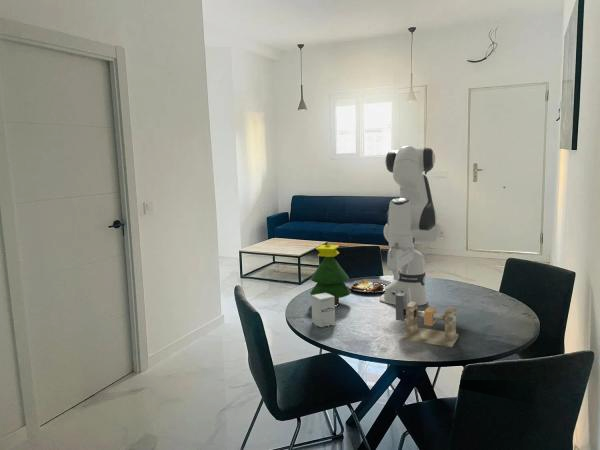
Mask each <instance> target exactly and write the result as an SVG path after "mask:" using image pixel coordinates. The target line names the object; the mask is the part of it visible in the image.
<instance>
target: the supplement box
mask: <svg viewBox="0 0 600 450" xmlns="http://www.w3.org/2000/svg"><path fill="white" fill-rule="evenodd" d="M310 295H311V294H310ZM310 299H311V300H310V301H311V323H312V322H313V323H314V324H316V325H318V326H319V327H324V326H328V325H332V326H334V325H333V324H335V325H336V313H335V312H336V309H335V308H336V307H335V300H334V296H332V295H330V294H328V293H321V294H316V295H311V296H310ZM314 324H313V325H314ZM316 325H315V326H316ZM319 327H318V328H319ZM328 327H329V326H328ZM324 328H325V327H324Z"/></svg>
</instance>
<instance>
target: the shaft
mask: <svg viewBox="0 0 600 450" xmlns="http://www.w3.org/2000/svg"><path fill="white" fill-rule="evenodd" d="M406 306H407V293H401V292H399V293H398V294H396V305H395V321H401V322H404V321H405V320H406ZM424 311H425V310H418V311H417V310H414V316H415V317H418V318H423V319H424ZM433 319H435V320H436V321H444V322H445V313H439V312H436V313H434V314H433ZM453 322H456V323H457V315H456V316H453Z"/></svg>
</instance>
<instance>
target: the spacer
mask: <svg viewBox="0 0 600 450" xmlns="http://www.w3.org/2000/svg"><path fill="white" fill-rule="evenodd" d="M423 311H424V318H423V325H424V326H430V327H433V326H434V324H435V323H436V322H437V320H435V319H433V314H434V313H437V307H432V306H427V307H426V309H424V310H423Z"/></svg>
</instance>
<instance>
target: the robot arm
mask: <svg viewBox="0 0 600 450" xmlns="http://www.w3.org/2000/svg"><path fill="white" fill-rule="evenodd" d="M384 162H385V167H386V170H388V172H389V173H391V174H392V177H393V180H394V181H395V183H396V184H397V185H398V186H399V197H396V198H393V199H391V200H390V201H389V206H388V207H389V208H388V210H387V212H386V224H385V225H384V227H383V237H384V239H385V240H386V242H388V246H389V247H390V249H388V251H387V258H386V259H387V260H386V261H387V262H386V269H387V270H389V271H391V272H392V274H393V281H391V282H392V283H390V284H389V285H388V286H387V287H386V286H385V288H384V289H385V292H383V294H381V295H380V297H379V302H380V301H381V302H380V303H386V304H390V305H394V306H396V294H398V293H399V292H401V293H407V305H408V304H409V303H410V302H418V306H419V307H420V306H423V305H426V304H428V303H429V299H428V296H427V291H426V290H427V289H426V282H427V281H426V280H427V279H426V277H427V276H426V272H425V257H424V255H423V253H421V252H420V251H419V250H417V249H415V244H432V243H436V242H438V240H439V239H440V238H441V234H442V229H441V226H440V225H441V224H439V223H438V221H437V219H438V217H437V212H436V209H435V206H434V202H433V197H432V193H431V188H430V182H429V179H428V177H427V176H426V175H427V173H429V172H431V170H432V169H433V168H434V165H435V163H436V155H435V152H434V150H433V149H432V148H430V147H414V146H411V145H405V146H402V147H401V146H400V148H399V149H393V150H389V152H387V153H386V156H385V161H384ZM423 172H424V174H423Z"/></svg>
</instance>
